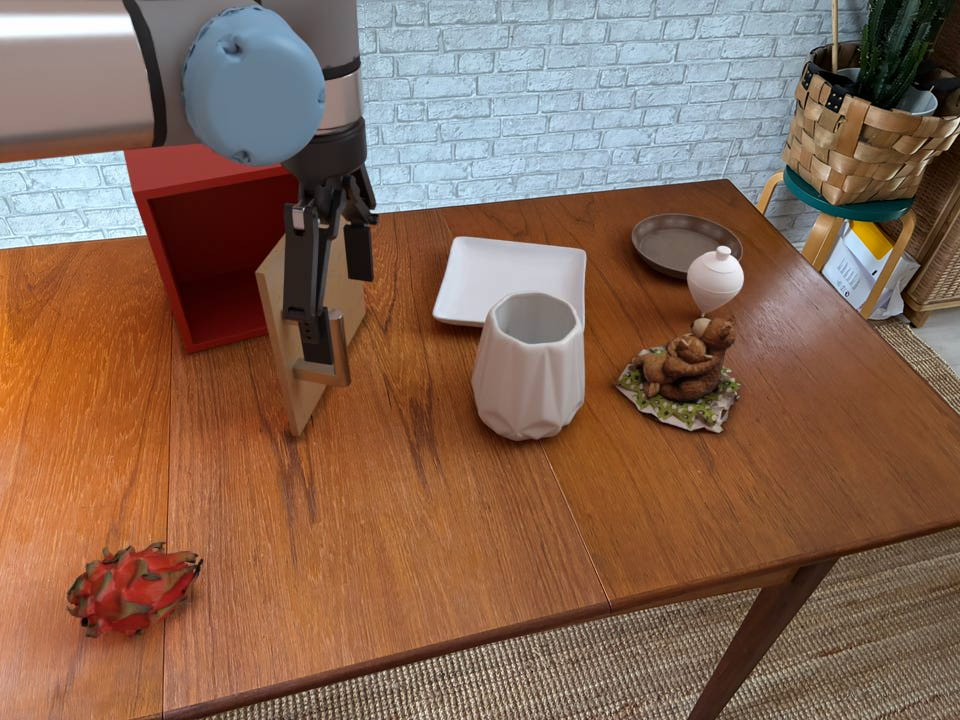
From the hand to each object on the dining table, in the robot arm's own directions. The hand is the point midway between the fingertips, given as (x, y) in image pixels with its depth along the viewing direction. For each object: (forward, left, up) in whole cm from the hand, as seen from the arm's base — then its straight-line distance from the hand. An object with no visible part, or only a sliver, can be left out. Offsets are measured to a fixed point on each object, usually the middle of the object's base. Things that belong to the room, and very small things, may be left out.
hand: (341, 317), depth 72 cm
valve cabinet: (-4, +31, -19) cm, 36 cm away
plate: (+30, +17, -19) cm, 39 cm away
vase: (+21, -4, -19) cm, 28 cm away
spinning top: (+54, +2, -19) cm, 57 cm away
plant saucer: (+61, +16, -19) cm, 66 cm away
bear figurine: (+41, -9, -19) cm, 46 cm away
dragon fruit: (-25, -12, -19) cm, 34 cm away
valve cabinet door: (+3, +11, -19) cm, 22 cm away
